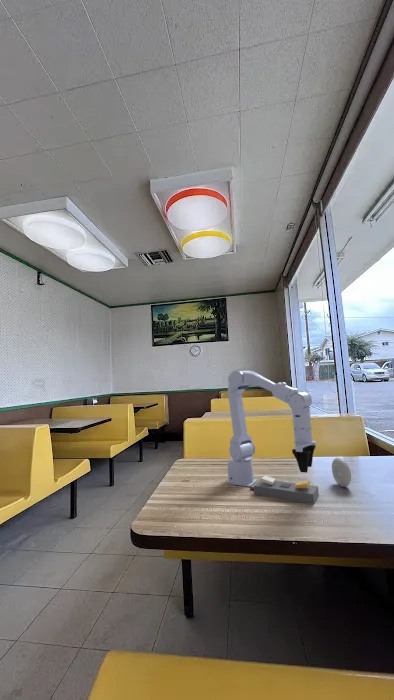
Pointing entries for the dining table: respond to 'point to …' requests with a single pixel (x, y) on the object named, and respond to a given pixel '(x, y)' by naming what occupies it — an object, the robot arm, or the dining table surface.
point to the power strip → (286, 491)
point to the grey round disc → (341, 472)
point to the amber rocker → (302, 484)
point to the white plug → (268, 480)
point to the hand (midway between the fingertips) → (306, 469)
